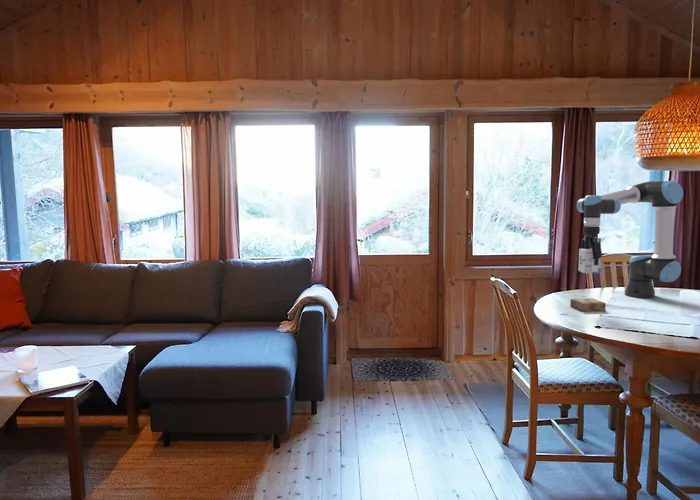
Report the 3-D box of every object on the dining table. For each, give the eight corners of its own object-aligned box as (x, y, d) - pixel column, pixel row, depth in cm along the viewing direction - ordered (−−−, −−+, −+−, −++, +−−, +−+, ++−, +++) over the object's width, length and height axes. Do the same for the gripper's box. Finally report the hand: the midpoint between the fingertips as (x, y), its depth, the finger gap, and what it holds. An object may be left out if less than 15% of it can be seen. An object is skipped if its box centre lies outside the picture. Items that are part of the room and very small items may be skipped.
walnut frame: (592, 305, 272) (592, 297, 271) (605, 311, 260) (605, 302, 259) (570, 306, 271) (570, 298, 270) (582, 311, 259) (582, 303, 258)
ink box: (594, 270, 267) (596, 248, 266) (601, 273, 259) (602, 250, 258) (577, 270, 268) (578, 248, 267) (583, 273, 260) (584, 250, 258)
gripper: (573, 224, 271) (571, 267, 274) (596, 227, 250) (594, 273, 252) (587, 224, 272) (585, 266, 275) (611, 227, 250) (608, 273, 253)
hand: (589, 270), depth 263 cm, fingers closed on ink box, 9 cm apart
